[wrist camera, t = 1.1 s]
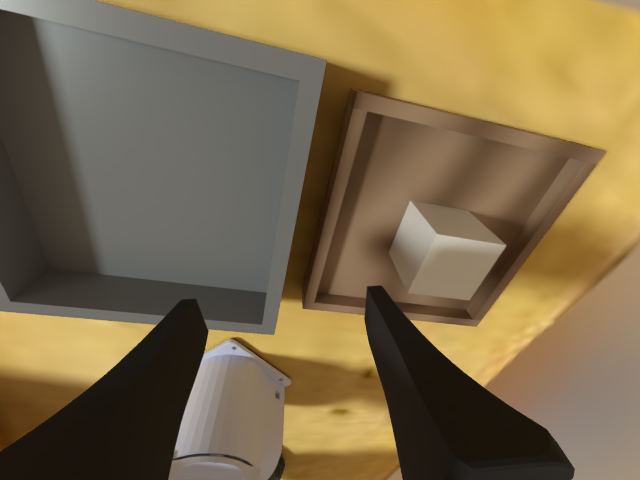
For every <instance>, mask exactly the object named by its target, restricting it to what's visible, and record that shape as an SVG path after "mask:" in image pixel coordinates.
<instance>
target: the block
mask: <svg viewBox="0 0 640 480" xmlns="http://www.w3.org/2000/svg"><path fill="white" fill-rule="evenodd" d="M506 246H507V245H506V244H505V243H503V242H502V241H501V240H500V239H499V238H498V237H497V236H496V235H494V234H493V233H492V232H491V231H490V230H489V229H488V228H487V227H486V226H484V225H483V224H482V223H481V222H480V221H479V220H478V219H477V218H475V217H474V216H473V215H472V214H471V213H470V212H469V211H467V210H461V209H456V208H450V207H445V206H439V205H434V204H428V203H423V202H417V201H411V200H410V202H409V205H408V207H407V209H406V212H405V214H404V217H403V219H402V221H401V224H400V226H399V229H398V231H397V234H396V236H395V238H394V241H393V243H392V246H391V248H390V250H389V255H390V257H391V259H392V261H393V263H394V265H395V268H396V270H397V272H398V274H399V276H400V278H401V280H402V283H403V285H404V287H405V289H406V291H407V293H412V294H420V295H428V296H436V297H445V298H453V299H461V300H470V299H471V297H472V296H473V295H474V293H475V292H476V290H477V289H478V287H479V286H480V284H481V283H482V281H483V280H484V278H485V277H486V275H487V274H488V272H489V271H490V269H491V268H492V266H493V265H494V263H495V262H496V260H497V259H498V257H499V256H500V254H501V253H502V251H503V250H504V249H505V247H506Z"/></svg>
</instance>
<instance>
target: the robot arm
mask: <svg viewBox="0 0 640 480" xmlns="http://www.w3.org/2000/svg"><path fill="white" fill-rule="evenodd" d="M365 325H366V330H367V335H368V340H369V344H370V348H371V351H372V354H373V357H374V361H375V364H376V367H377V370H378V374H379V377H380V380H381V383H382V387H383V390H384V393H385V397H386V400H387V404H388V409H389V413H390V418H391V423H392V427H393V432H394V437H395V442H396V447H397V452H398V457H399V462H400V467H401V473H402V478H403V480H571V479H572V478H573V476H574V467H573V466H572V464H571V463H570V461H569V460H568V458H567V457H566V455H565V454H564V452H563V451H562V449H561V448H560V446H559V445H558V443H557V442H556V441H555V440H554V438H553V437H552V436H551V434H550V433H549V432H548V430H547V429H545V428H543V427H542V426H541V425H539V424H537V423H536V422H534V421H533V420H531V419H529V418H528V417H526V416H525V415H523V414H522V413H520V412H518V411H516V410H515V409H514V408H512V407H510V406H509V405H507V404H506V403H505V402H503V401H502V400H500V399H499V398H497V397H496V396H495V395H493V394H492V393H490V392H489V391H488V390H486V389H485V388H484V387H482V386H481V385H480V384H478V383H477V382H476V381H475V380H473V379H472V378H471V377H469V376H468V375H467V374H465V373H464V372H463V371H462V370H461V369H459V368H458V367H457V366H456V365H455V364H453V363H452V362H451V361H450V360H449V359H448V358H447V357H445V356H444V355H443V354H442V353H441V352H440V351H439V350H438V349H437V348H436V347H435V346H434V345H433V344H432V343H431V342H430V341H429V340H428V339H427V338H426V337H425V336H424V335H423V334H422V333H421V332H420V331H419V330H418V329H417V328H416V327H415V326H414V325H413V323H412V322H411V321H410V320H409V319H408V318H407V317H406V315H405V314H404V313H403V312H402V311H401V310H400V308H399V307H398V306H397V305H396V303H395V302H394V301H393V300H392V298H391V297H390V296H389V294H388V293H387V292H386V290H385V289H384V287H382V286H381V285H379V286H367V292H366V306H365ZM207 336H208V329H207V326H206V323H205V321H204V318H203V316H202V313H201V310H200V308H199V305H198V302H197V300H196V299H182V300H180V301H179V302H178V303H177V304H176V305H175V307H174V308H173V309H172V310H171V311H170V312H169V313H168V314H167V315H166V316H165V317H164V318H163V319H162V320H161V321H160V322H159V323H158V324H157V326H156V327H155V328H154V329H153V330H152V331H151V332H150V333H149V334H148V335H147V336H146V337H145V338H144V339H143V340H142V341H141V342H140V343H139V344H138V345H137V346H136V347H135V348H134V349H133V350H131V351H130V352H129V353H128V354H127V355H126V356H125V357H124V358H123V359H122V360H121V361H120V362H119V363H118V364H117V365H116V366H114V367H113V368H112V369H111V370H110V371H109V372H108V373H107V374H105V375H104V376H103V377H102V378H101V379H99V380H98V381H97V382H96V383H95V384H93V385H92V386H91V387H90V388H89V389H87V390H86V391H85V392H84V393H82V394H81V395H80V396H78V397H77V398H76V399H74V400H73V401H72V402H70V403H69V404H68V405H67V406H65V407H64V408H63V409H61V410H60V411H59V412H57V413H56V414H55V415H53V416H52V417H51V418H49V419H48V420H46V421H45V422H43V423H42V424H41V425H39V426H38V427H36V428H35V429H34V430H32V431H31V432H29V433H28V434H26V435H25V436H23V437H22V438H20V439H19V440H17V441H16V442H14V443H13V444H11V445H10V446H8V447H7V448H5V449H4V450H2V451H1V452H0V480H268V479H269V477H270V476H271V475H272V473H273V472H274V470H275V468H276V466H277V463H278V461H279V458H280V455H281V451H282V445H283V425H284V400H285V387H287V386H289V385H291V379H290V378H288V377H287V376H285V375H284V374H282V373H281V372H280V371H278V370H277V369H275V368H274V367H272V366H271V365H270V364H268V363H267V362H265V361H264V360H263V359H261V358H260V357H258V356H257V355H255V354H254V353H253V352H251V351H250V350H248V349H247V348H245V347H244V346H243V345H241V344H240V343H238V342H237V341H236V340H234V339H229V340H227V341H225V342H223V343H222V344H220V345H218V346H216V347H215V348H213V349H211V350H209V351H208V352H206V353H204V351H205V346H206V341H207Z"/></svg>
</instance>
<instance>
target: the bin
mask: <svg viewBox="0 0 640 480" xmlns="http://www.w3.org/2000/svg"><path fill="white" fill-rule="evenodd" d="M326 62H327V60H324V59H320V58H316V57H312V56H308V55H304V54H301V53H297V52H293V51H289V50H285V49H281V48H277V47H273V46H269V45H265V44H262V43H258V42H254V41H250V40H246V39H242V38H238V37H234V36H230V35H226V34H223V33H219V32H215V31H211V30H207V29H203V28H199V27H195V26H191V25H187V24H184V23H180V22H176V21H172V20H168V19H164V18H160V17H156V16H152V15H149V14H145V13H141V12H137V11H133V10H129V9H125V8H121V7H117V6H113V5H110V4H106V3H102V2H98V1H94V0H0V311H4V312H16V313H27V314H39V315H50V316H62V317H73V318H85V319H96V320H108V321H119V322H131V323H142V324H154V325H157V324H158V323H159V322H160V321H161V320H162V319H163V318H164V317H165V316H166V315H167V314H168V313H169V312H170V311H171V310H172V309H173V308H174V307H175V305H176V304H177V303H178V302H179V301H180V300H182V299H196V300H197V302H198V305H199V308H200V310H201V313H202V316H203V318H204V321H205V323H206V326H207V329H212V330H223V331H235V332H246V333H258V334H269V335H274V333H275V328H276V323H277V317H278V312H279V307H280V302H281V297H282V291H283V286H284V281H285V276H286V271H287V265H288V260H289V255H290V250H291V244H292V239H293V234H294V229H295V224H296V218H297V213H298V208H299V203H300V198H301V192H302V187H303V182H304V177H305V172H306V166H307V161H308V156H309V151H310V145H311V140H312V135H313V130H314V125H315V119H316V114H317V109H318V104H319V99H320V93H321V88H322V83H323V78H324V72H325V67H326Z"/></svg>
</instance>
